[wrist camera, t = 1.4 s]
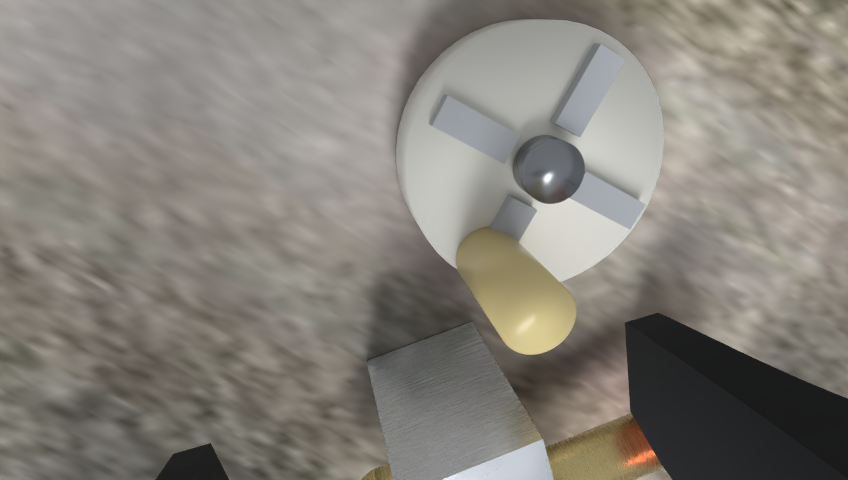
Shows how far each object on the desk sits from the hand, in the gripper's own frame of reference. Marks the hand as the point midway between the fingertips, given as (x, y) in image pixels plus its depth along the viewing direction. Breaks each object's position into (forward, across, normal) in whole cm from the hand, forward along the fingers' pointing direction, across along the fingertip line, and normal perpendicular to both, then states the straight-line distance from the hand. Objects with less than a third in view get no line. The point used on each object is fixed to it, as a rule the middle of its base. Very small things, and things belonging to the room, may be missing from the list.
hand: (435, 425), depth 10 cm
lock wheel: (+10, -5, -1) cm, 11 cm away
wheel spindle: (+8, -5, -1) cm, 10 cm away
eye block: (+9, -1, +10) cm, 14 cm away
